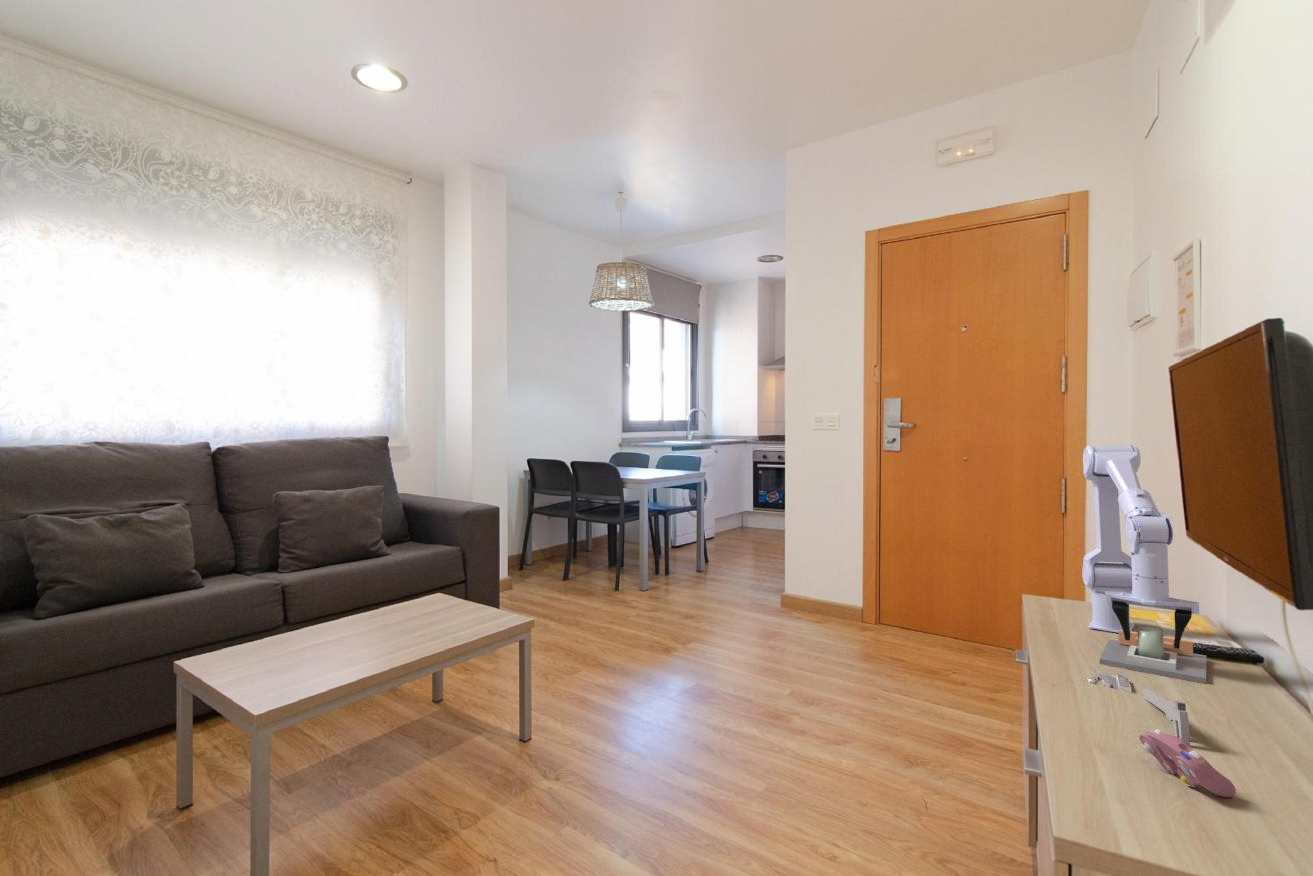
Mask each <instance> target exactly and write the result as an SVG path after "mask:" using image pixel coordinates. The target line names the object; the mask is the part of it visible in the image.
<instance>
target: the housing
mask: <svg viewBox="0 0 1313 876" xmlns="http://www.w3.org/2000/svg"><path fill="white" fill-rule="evenodd" d="M1207 659H1208V658H1207V655H1204V654H1198V653H1194V652H1193V656H1189V655H1183V654H1177V653H1174V652H1168V651H1164V660H1160V659H1155V658H1149V657H1143V656H1139V655H1138V646H1132V645H1131V646H1129V645H1123V644H1119V640H1113V639H1108V640H1107V643H1106V644H1105V647H1104V649H1103V651H1102V653H1101V655H1100V657H1099V664H1100V665H1104V666H1111V667H1116V668H1121V669H1126V670H1132V671H1136V672H1141V673H1147V674H1152V675H1157V676H1163V677H1167V678H1174V679H1179V680H1182V681H1183V680H1184V681H1189V682H1195V683H1198V684H1199V683H1200V684H1205V685H1206V684H1207V665H1208V664H1207V661H1208V660H1207Z"/></svg>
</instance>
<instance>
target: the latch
mask: <svg viewBox="0 0 1313 876" xmlns="http://www.w3.org/2000/svg"><path fill="white" fill-rule="evenodd" d="M1117 635H1118V641H1119V644H1123V645H1129V646H1131V645H1132V646H1138V631H1133V630H1132V631H1130V640H1129V641H1128V640H1125V636H1124V632H1123V630H1120V629H1119V631H1118V633H1117ZM1174 641H1175V637H1170V636H1165V635H1163V643H1164V651H1168V652H1174V653H1177V654H1183V655H1189V656H1193V653H1194V640H1189V639H1183V638H1181V640H1180V647H1179V649H1177V648H1175V647H1174Z"/></svg>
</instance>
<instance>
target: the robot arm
mask: <svg viewBox="0 0 1313 876" xmlns="http://www.w3.org/2000/svg"><path fill="white" fill-rule="evenodd" d="M1082 453H1083V454H1082V469H1083V472H1082V473H1083V475H1084V479H1086V480H1088V481H1091V482H1092V487H1093V495H1094V497H1093V498H1094V499H1093V500H1094V516H1095V518H1094V520H1095V535H1096V537H1095V539H1096V548H1095V549H1092V551H1089V552H1088V553H1087V554H1085V555H1084V556H1083V559H1082V561H1083V562H1082V568H1081V569H1082V570H1081V571H1082V572H1081V573H1082V581H1083V583H1084V585H1085V586H1086V587H1087V588H1088V589H1090V590H1091V617H1092V619H1091V621H1090V623H1089V624H1088V626H1087V627H1088V629H1093V630H1099V631H1104V632H1112V633H1117V634H1118V631H1119V629H1120V630H1123V632H1124V636H1125V640H1128V641H1129V640H1130V631H1133V629H1134V628H1135V627H1134V626H1135V622H1130V619H1131V618H1130V605H1132V606H1140V607H1147V608H1153V609H1160V610H1161V609H1162V610H1170V611H1174V615H1173V616H1174V638H1175V641H1174V647H1175V648H1177V649H1179V647H1180V640H1181V639H1182V636H1183V633H1184V631H1185V629H1186V628H1187V626H1188V624H1189V622H1190V621H1191V619H1192V615H1194V614H1195V615H1200V602H1198V601H1191V600H1185V599H1180V598H1175V597H1170V589H1169V588H1170V587H1169V586H1170V585H1169V581H1170V580H1169V558H1168V557H1169V554H1168V552H1169V551H1168V546H1170V545H1171V544H1172V543H1173V539H1174V527H1173V524H1172V522H1171V520H1170V517H1169V516H1167V515H1165V514H1164V513H1163V512H1159V509H1158V508H1157V505H1156V503H1155V501H1154V499H1153V497H1152V495H1151V493H1150V492H1149V491H1147V490H1145V489H1142V488H1141V484H1140V481H1139V478H1138V475H1137V473H1138V470H1139V468H1140V466H1141V453H1140V450H1139V448H1138V447H1137V446H1136V445H1135V444H1129V445H1123V444H1122V445H1086V447H1084V449H1083V452H1082ZM1119 493H1120V494H1119ZM1120 510H1121V512H1122V514H1123V517H1124V519H1125V536H1126V538H1127V539H1126V540H1127V545H1128V551H1129V552H1131V553H1130V554H1131V555H1129V554H1127V553H1126V552H1124V551H1123V550H1122V538H1121V536H1122V535H1121V534H1122V533H1121V517H1120Z"/></svg>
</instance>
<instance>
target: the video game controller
mask: <svg viewBox="0 0 1313 876" xmlns="http://www.w3.org/2000/svg"><path fill="white" fill-rule="evenodd" d="M1139 741H1140V742H1141V744H1142V745H1141V746H1142V749H1143V750H1144V752H1145V753H1148V754H1150V755H1151V756H1153V757H1154V758H1155V759H1156V761H1157V762H1158V763H1159V764H1160V765H1161V767H1162V768H1164V770H1165V771H1166V770H1167V771H1168V772H1167V771H1166V772H1167V773H1169V774H1170V773H1171V774H1170V775H1172V774H1173V775H1175V774H1177V775H1178V776H1179V778H1180V780H1181V781H1182V782H1183V783H1185V784H1186V785H1187V784H1188V785H1190V786H1191V787H1193V788H1192V789H1194V788H1196V787H1198V786H1201V787H1202V788H1204V789H1205V790H1208V791H1209V792H1211V793H1212V794H1215V795H1217V796H1219V797H1221V796H1222V798H1224V797H1232V798H1233V797H1235V795H1236V787H1235V785H1234V783H1233V782H1232V781H1231V780H1230V779H1228V778H1227V777H1226V776H1225V775H1223V774H1221V773H1220V772H1219V771H1218V770H1216V768H1214V767H1213V766H1212V765H1211V764H1210V762H1209V761H1208V760H1206V758H1204V756H1202V755H1201V754H1199V753H1198V752H1197V751H1195V750H1194V749H1193V748H1191V747H1190V745H1187V743H1186V742H1184V741H1183V740H1182V739H1180V738H1178V737H1176V735H1173V734H1170V733H1164V732H1161V730H1160V729H1158V728H1156V729H1155V730H1154V731H1153V730H1149V731H1146V732H1144V733H1141V734H1140V735H1139ZM1188 785H1187V786H1188ZM1190 786H1189V787H1190ZM1191 787H1190V788H1191Z"/></svg>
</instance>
